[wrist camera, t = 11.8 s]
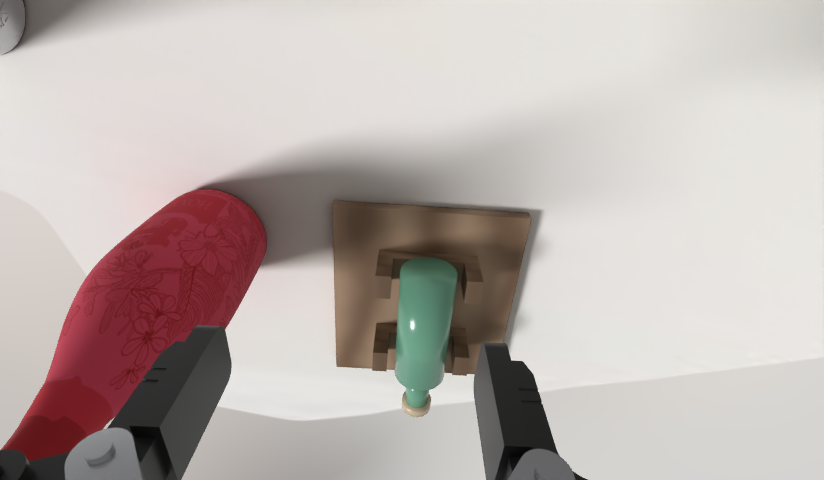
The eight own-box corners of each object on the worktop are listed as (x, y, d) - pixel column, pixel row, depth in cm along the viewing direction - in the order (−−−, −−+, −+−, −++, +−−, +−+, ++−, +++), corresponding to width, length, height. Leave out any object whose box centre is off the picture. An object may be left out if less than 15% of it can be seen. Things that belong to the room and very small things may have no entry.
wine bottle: (250, 174, 38) (-97, 556, 12) (285, 265, 43) (88, 678, 17) (148, 192, 39) (-376, 582, 13) (194, 279, 44) (-125, 690, 18)
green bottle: (400, 256, 39) (400, 288, 35) (454, 257, 40) (461, 290, 35) (392, 386, 48) (392, 425, 44) (437, 386, 48) (441, 426, 44)
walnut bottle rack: (338, 358, 49) (330, 397, 45) (334, 200, 40) (323, 228, 35) (493, 367, 50) (501, 406, 45) (528, 213, 40) (543, 242, 35)
